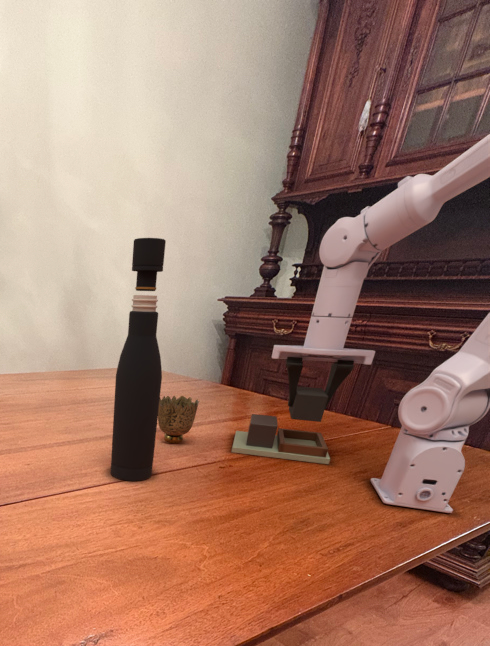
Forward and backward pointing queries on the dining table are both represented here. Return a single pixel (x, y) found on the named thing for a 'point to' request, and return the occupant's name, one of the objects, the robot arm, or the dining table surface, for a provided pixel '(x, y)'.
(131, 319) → the black bottle
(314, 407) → the loose block
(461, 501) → the dining table surface
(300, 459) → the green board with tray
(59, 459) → the dining table surface
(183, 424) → the cup
